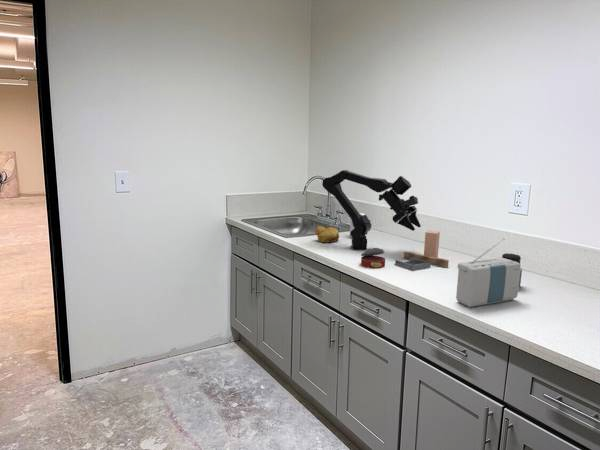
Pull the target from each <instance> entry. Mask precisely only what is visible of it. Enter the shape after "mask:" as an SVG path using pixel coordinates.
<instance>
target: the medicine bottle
mask: <svg viewBox="0 0 600 450" xmlns="http://www.w3.org/2000/svg"><path fill="white" fill-rule="evenodd" d="M501 258H505V259H509V260H512V261H515V262H518V263H520V264H521V258H522V257H521V256H520V255H519V254H518V253H512V252H511V253H510V252H506V253H503V254H502V255H501ZM522 274H523V267H522V266H521V269H520V280H519V288H520V287H521V284H522V283H521V282H522Z"/></svg>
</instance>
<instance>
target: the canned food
mask: <svg viewBox="0 0 600 450" xmlns="http://www.w3.org/2000/svg"><path fill="white" fill-rule="evenodd" d="M384 253H385V250H384V249H382V248H379V247H373V248H367V249H365V251H364V252H362V253H361V255H360V256H361V257H360V258H361V259H360V261H361V262H360V265H361V266H362V267H363V268H367V267H369V268H368V269H383V268H384V266H385V267H386V258H385V257H383V256H380V255H383V254H384ZM382 267H383V268H382Z"/></svg>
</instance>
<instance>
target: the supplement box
mask: <svg viewBox="0 0 600 450" xmlns="http://www.w3.org/2000/svg"><path fill="white" fill-rule="evenodd" d="M359 214H361V215H362V216H363V215H366V214H365V213H364V212H359ZM349 218H350V217H349ZM349 221H350V222H349V223H350V224H349V229H350V230H349V238H350V239H351V240H352V237H351V234H350V232H351V231H352V230H353V229H354V226H353V223H352V219H351V218H350V220H349Z"/></svg>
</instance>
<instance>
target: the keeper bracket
mask: <svg viewBox="0 0 600 450" xmlns="http://www.w3.org/2000/svg"><path fill="white" fill-rule="evenodd" d="M393 264H394V266H397V267H400V268H404V269H406V270H408V271H419V270H423V269H424V270H426V269H430V268H431V266H432V265H431V263H430V262H427V261H424V260H420V259H417V258H414V257H412V258H411V260H408V261H401V260H400V259H399V260H398V259H395V260H394V263H393Z"/></svg>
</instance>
